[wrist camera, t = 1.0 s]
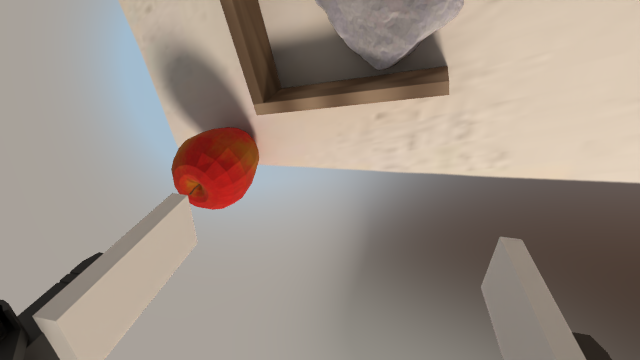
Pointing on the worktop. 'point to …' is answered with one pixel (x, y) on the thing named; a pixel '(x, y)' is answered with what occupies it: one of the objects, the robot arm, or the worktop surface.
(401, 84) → the cubby
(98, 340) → the robot arm
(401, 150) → the worktop surface
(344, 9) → the stone block
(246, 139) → the apple
